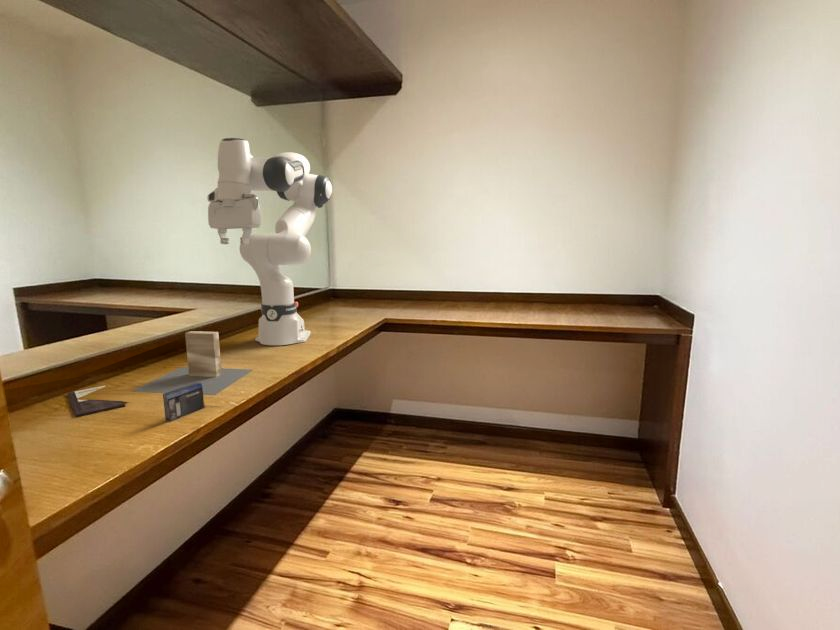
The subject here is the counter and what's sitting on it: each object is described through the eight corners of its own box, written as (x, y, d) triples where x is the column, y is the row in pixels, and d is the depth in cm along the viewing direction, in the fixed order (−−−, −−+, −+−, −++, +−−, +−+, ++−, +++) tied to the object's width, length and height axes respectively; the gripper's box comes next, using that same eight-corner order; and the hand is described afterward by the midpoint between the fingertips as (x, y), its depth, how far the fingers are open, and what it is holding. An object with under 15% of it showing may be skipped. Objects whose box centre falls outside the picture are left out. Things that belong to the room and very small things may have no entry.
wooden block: (195, 372, 122) (191, 330, 120) (222, 373, 121) (218, 331, 119) (189, 375, 119) (184, 333, 117) (216, 376, 118) (213, 334, 116)
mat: (182, 368, 127) (181, 366, 127) (254, 371, 125) (253, 369, 125) (130, 393, 107) (130, 391, 107) (215, 397, 105) (215, 394, 105)
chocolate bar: (75, 415, 93) (67, 392, 106) (75, 419, 94) (68, 396, 107) (124, 404, 99) (111, 384, 112) (125, 408, 100) (112, 387, 113)
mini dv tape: (170, 422, 92) (167, 395, 91) (165, 420, 92) (162, 394, 91) (204, 408, 99) (202, 383, 98) (199, 407, 100) (197, 382, 98)
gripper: (267, 195, 122) (266, 244, 123) (223, 199, 133) (223, 245, 134) (247, 191, 117) (247, 242, 118) (203, 196, 128) (204, 243, 129)
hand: (234, 244), depth 126 cm, fingers open, 8 cm apart
